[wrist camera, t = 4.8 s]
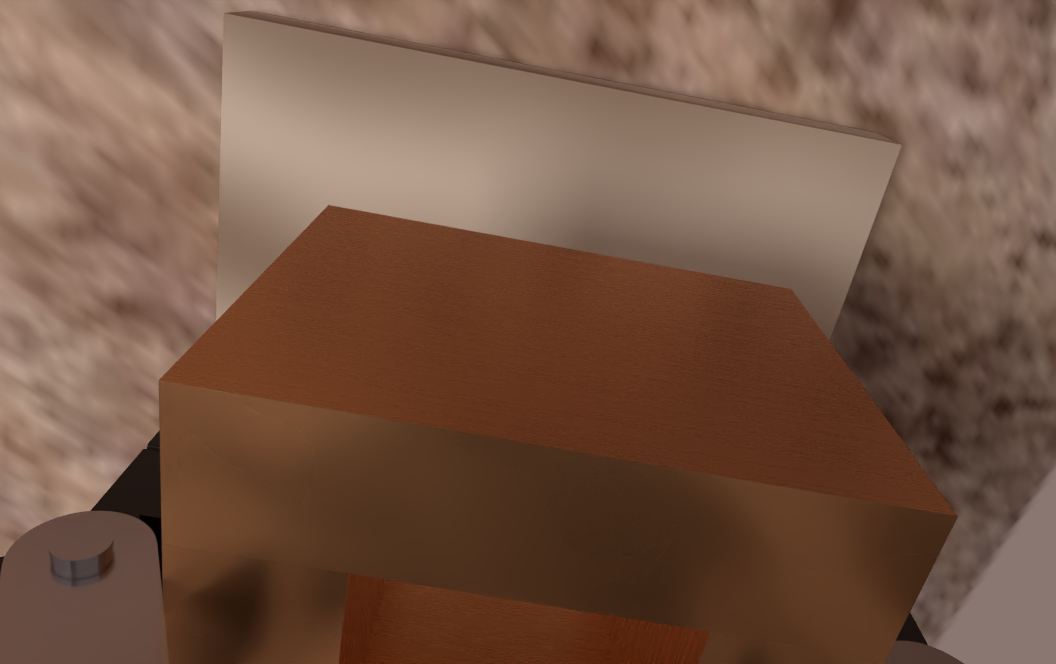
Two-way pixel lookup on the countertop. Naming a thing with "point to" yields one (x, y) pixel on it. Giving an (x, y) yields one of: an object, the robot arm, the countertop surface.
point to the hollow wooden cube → (527, 466)
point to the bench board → (531, 161)
